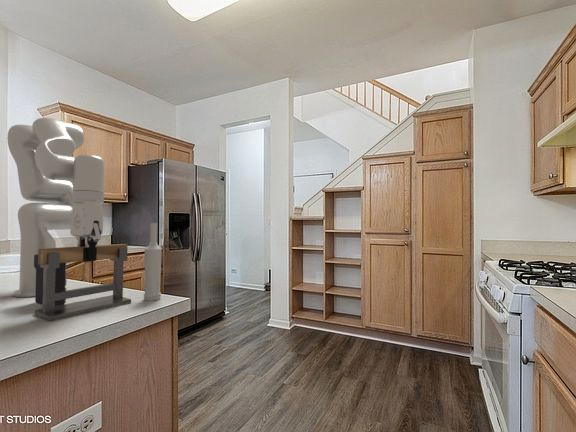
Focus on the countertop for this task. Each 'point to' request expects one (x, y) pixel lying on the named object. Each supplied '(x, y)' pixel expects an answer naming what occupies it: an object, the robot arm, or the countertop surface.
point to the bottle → (152, 267)
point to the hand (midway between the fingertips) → (86, 260)
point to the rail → (79, 253)
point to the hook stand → (80, 291)
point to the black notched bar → (59, 281)
